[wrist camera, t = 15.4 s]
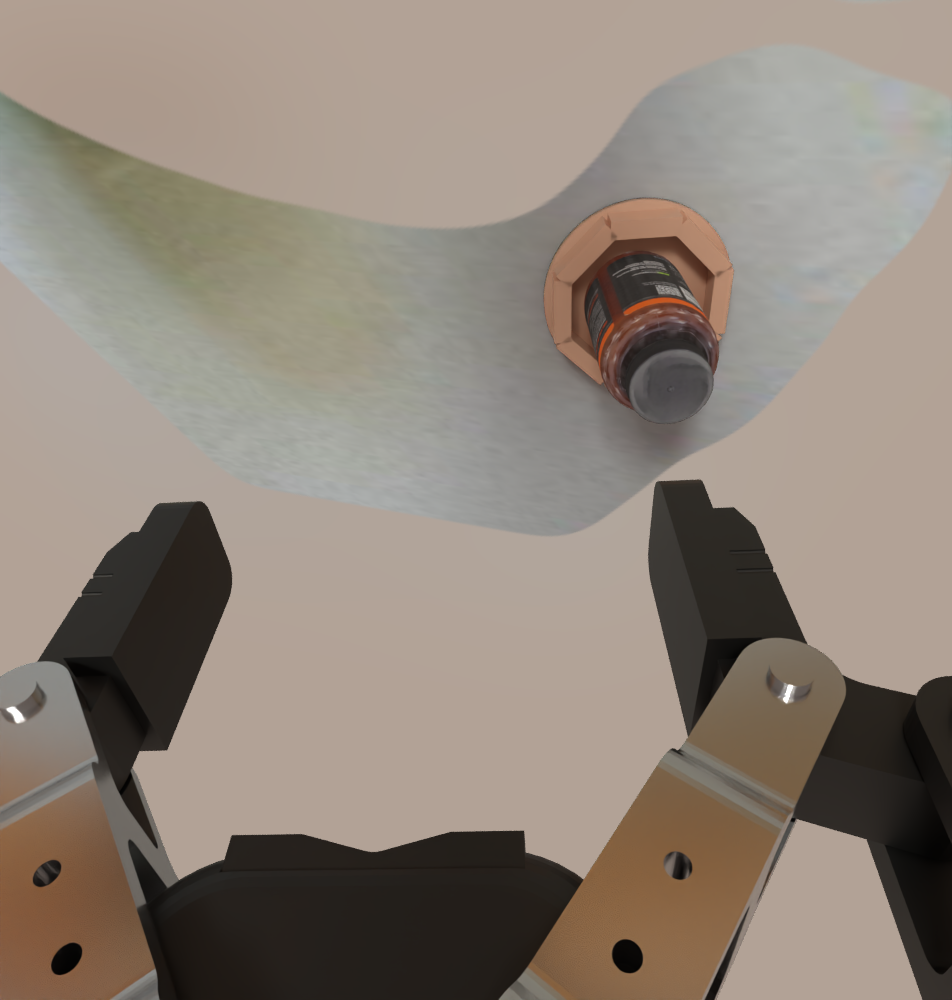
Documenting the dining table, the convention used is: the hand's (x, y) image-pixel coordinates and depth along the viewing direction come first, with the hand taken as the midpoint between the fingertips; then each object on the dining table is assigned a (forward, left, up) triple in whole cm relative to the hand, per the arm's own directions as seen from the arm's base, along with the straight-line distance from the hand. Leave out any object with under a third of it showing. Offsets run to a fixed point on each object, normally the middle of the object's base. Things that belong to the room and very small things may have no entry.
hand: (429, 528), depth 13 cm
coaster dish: (+9, +9, -32) cm, 34 cm away
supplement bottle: (+9, +9, -32) cm, 34 cm away
